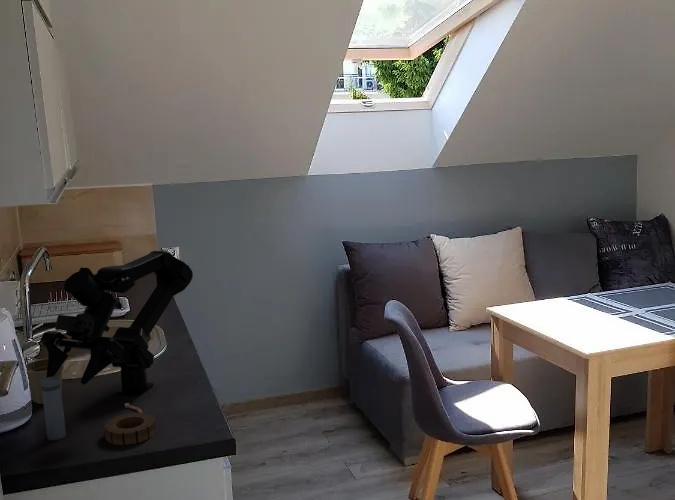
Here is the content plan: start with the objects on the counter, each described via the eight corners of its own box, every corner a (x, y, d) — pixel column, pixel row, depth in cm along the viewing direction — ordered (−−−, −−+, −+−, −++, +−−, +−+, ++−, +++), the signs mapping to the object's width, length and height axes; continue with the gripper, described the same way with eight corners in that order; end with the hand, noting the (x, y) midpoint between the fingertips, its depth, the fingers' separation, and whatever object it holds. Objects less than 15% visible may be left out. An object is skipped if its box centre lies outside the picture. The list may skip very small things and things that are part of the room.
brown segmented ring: (122, 421, 150) (121, 410, 149) (164, 425, 147) (163, 414, 147) (96, 442, 140) (95, 431, 140) (140, 447, 138) (139, 435, 137)
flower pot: (64, 388, 170) (60, 355, 169) (72, 400, 162) (68, 366, 161) (23, 397, 165) (19, 363, 164) (29, 410, 157) (25, 375, 156)
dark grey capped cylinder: (54, 431, 146) (48, 375, 144) (70, 433, 145) (63, 377, 143) (43, 439, 143) (36, 382, 140) (58, 441, 142) (52, 383, 139)
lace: (124, 406, 158) (124, 403, 158) (137, 403, 159) (137, 401, 159) (133, 426, 147) (133, 423, 147) (147, 423, 149) (147, 421, 148)
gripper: (41, 295, 151) (6, 360, 143) (110, 301, 144) (78, 369, 136) (71, 320, 159) (40, 382, 151) (137, 326, 153) (108, 392, 144)
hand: (65, 381), depth 145 cm, fingers open, 9 cm apart
